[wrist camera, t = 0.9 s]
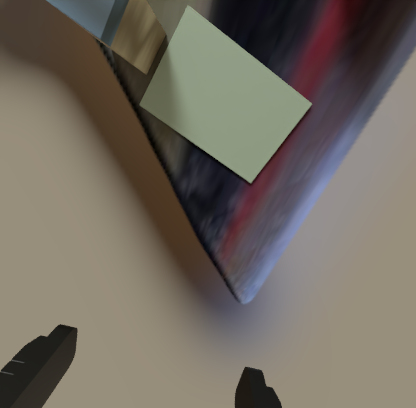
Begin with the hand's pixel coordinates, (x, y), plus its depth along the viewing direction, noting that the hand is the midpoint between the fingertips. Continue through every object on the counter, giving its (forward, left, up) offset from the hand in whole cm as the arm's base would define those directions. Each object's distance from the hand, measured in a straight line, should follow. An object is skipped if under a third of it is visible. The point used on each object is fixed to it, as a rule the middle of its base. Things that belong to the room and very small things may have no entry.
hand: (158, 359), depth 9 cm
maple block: (-13, -18, -22) cm, 31 cm away
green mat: (-13, -6, -22) cm, 26 cm away
